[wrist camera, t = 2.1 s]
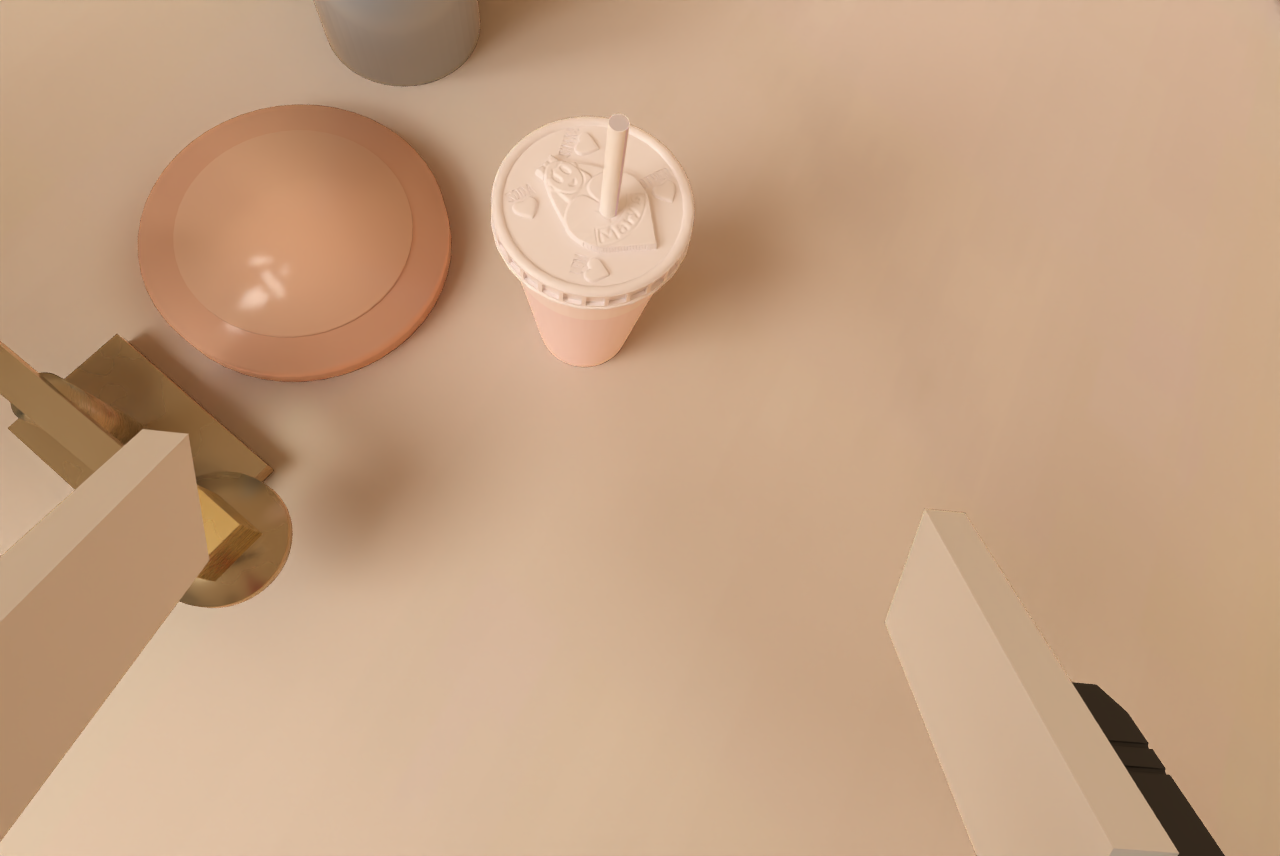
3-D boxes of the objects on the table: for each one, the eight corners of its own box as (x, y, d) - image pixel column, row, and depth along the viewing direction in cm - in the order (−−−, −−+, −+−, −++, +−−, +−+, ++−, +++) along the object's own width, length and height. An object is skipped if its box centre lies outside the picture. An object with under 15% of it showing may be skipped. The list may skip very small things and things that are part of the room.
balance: (-55, 364, 31) (-281, 257, 23) (53, 276, 32) (-122, 144, 24) (254, 645, 29) (134, 641, 21) (354, 540, 31) (279, 496, 22)
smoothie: (597, 428, 33) (625, 271, 19) (474, 335, 33) (420, 120, 20) (688, 316, 35) (772, 100, 21) (570, 229, 35) (580, -34, 22)
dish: (87, 254, 33) (67, 237, 31) (307, 74, 36) (297, 51, 35) (303, 441, 31) (292, 432, 30) (510, 238, 35) (508, 221, 33)
